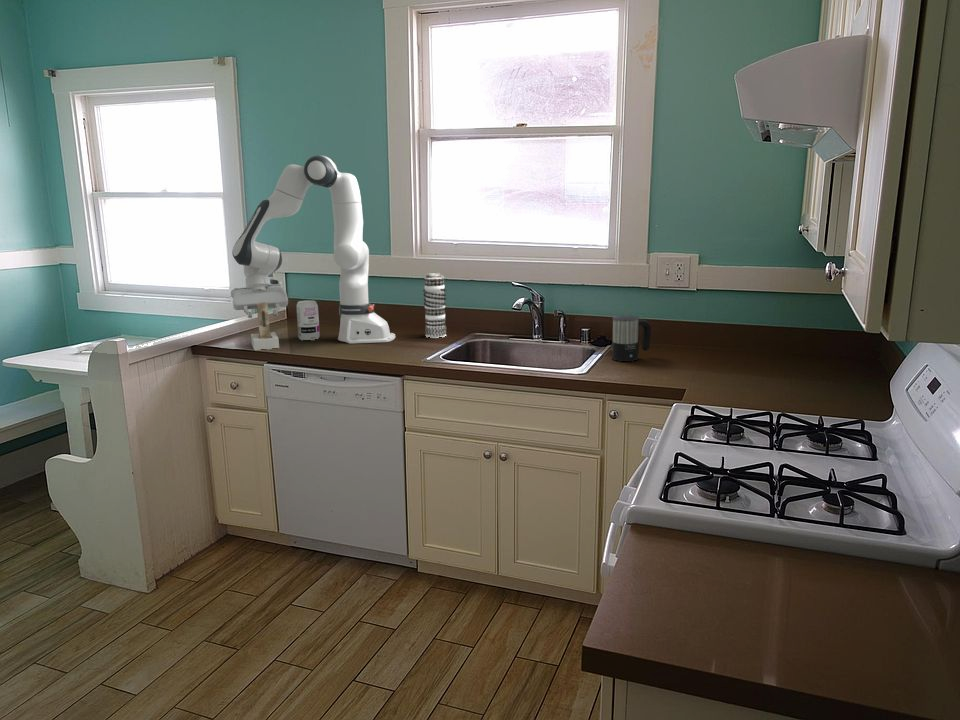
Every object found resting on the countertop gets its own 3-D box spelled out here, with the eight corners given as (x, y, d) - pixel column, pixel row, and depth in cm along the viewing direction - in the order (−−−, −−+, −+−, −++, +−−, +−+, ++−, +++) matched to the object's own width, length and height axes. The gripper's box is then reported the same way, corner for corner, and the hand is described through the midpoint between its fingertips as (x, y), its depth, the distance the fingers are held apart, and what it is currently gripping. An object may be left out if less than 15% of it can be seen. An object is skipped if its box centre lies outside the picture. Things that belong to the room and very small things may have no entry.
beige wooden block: (269, 340, 290) (266, 302, 287) (270, 343, 285) (267, 304, 282) (259, 341, 289) (256, 302, 285) (261, 344, 284) (257, 304, 281)
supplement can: (308, 336, 306) (306, 299, 302) (324, 338, 301) (321, 300, 298) (294, 339, 299) (291, 302, 295) (309, 341, 295) (307, 303, 291)
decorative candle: (440, 332, 309) (438, 271, 303) (451, 336, 301) (450, 274, 295) (420, 335, 304) (418, 273, 298) (431, 339, 296) (429, 275, 291)
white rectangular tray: (251, 344, 291) (250, 334, 290) (275, 342, 294) (274, 332, 294) (254, 350, 280) (253, 340, 280) (279, 348, 284) (278, 337, 283)
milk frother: (624, 363, 253) (625, 320, 249) (592, 355, 266) (593, 313, 262) (654, 357, 261) (655, 315, 257) (621, 350, 273) (622, 309, 270)
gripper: (229, 283, 285) (234, 313, 278) (285, 280, 292) (290, 309, 286) (230, 293, 290) (234, 323, 284) (284, 290, 297) (289, 318, 291)
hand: (262, 316), depth 285 cm, fingers open, 8 cm apart
